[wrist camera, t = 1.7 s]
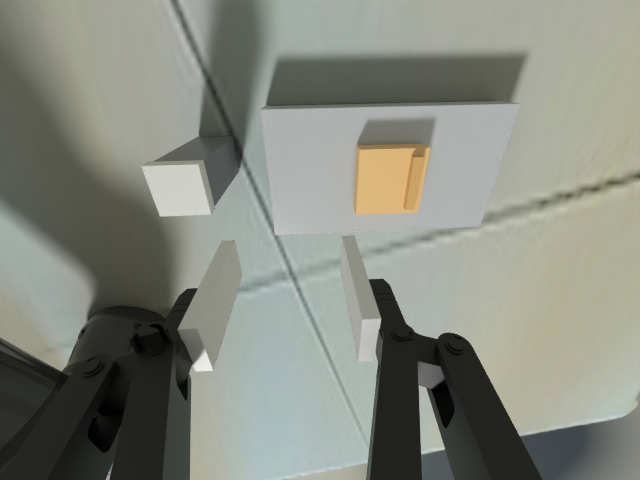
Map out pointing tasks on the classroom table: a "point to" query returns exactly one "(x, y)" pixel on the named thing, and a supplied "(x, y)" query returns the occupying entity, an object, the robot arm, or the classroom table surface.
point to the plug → (192, 176)
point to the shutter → (389, 178)
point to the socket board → (379, 129)
